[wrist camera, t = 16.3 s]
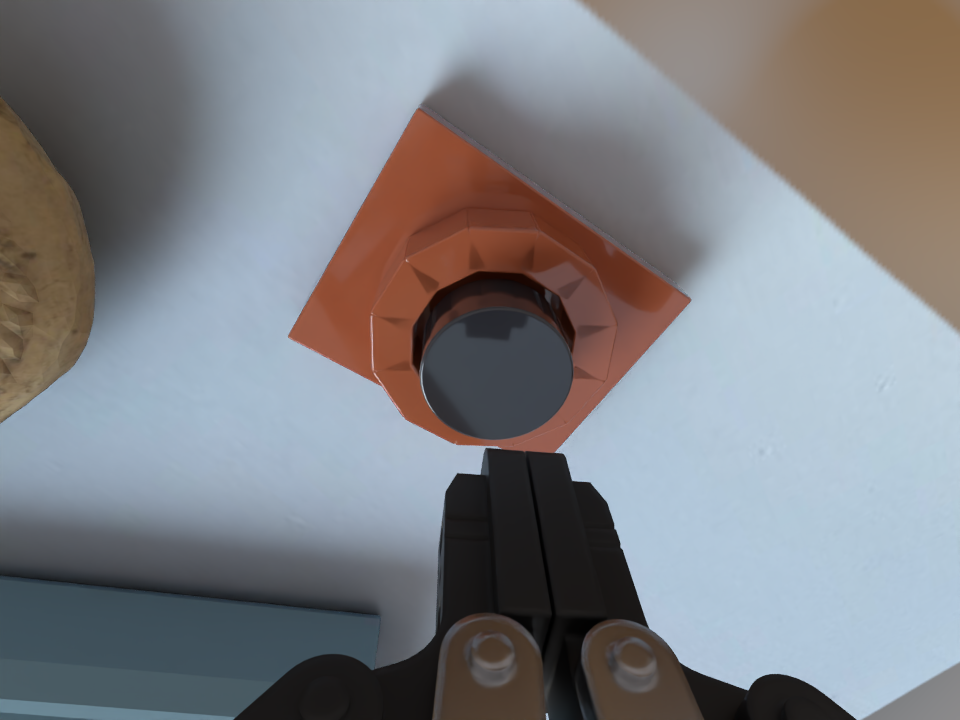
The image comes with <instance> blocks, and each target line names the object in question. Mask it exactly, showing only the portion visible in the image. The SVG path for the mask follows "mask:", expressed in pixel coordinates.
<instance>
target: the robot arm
mask: <svg viewBox="0 0 960 720" xmlns="http://www.w3.org/2000/svg"><path fill="white" fill-rule="evenodd" d="M546 713H548V716H549V720H856V719H855V718H854V717H853V716H851V715H850V714H849V713H847V712H846V711H845V710H844V709H842V708H841V707H840V706H839V705H837V704H836V703H835V702H834V701H832V700H831V699H830V698H828V697H827V696H826V695H825V694H823V693H822V692H820V691H819V690H818V689H816V688H815V687H813V686H811V685H810V684H808V683H806V682H804V681H802V680H799V679H797V678H794V677H791V676H787V675H781V674H769V675H765V676H762V677H760V678H758V679H757V680H756V681H755V682H754V683H753V684H752V685H751V687H750V689H749V691H748V690H745V689H742V688H739V687H736V686H734V685H731V684H728V683H725V682H722V681H720V680H717V679H714V678H711V677H708V676H706V675H703V674H700V673H698V672H696V671H693V670H691V669H690V668H688V667H686V666H684V665H683V664H681V663H680V662H679V661H678V659H677V657H676V655H675V654H674V652H673V651H672V649H671V648H670V647H669V645H668V644H667V643H666V642H665V641H664V640H663V639H662V638H661V637H660V636H658V635H657V634H656V633H655V632H653V631H652V630H650V629H649V627H648V625H647V622H646V620H645V617H644V613H643V610H642V607H641V604H640V601H639V598H638V595H637V592H636V589H635V586H634V583H633V580H632V577H631V574H630V571H629V568H628V565H627V562H626V559H625V556H624V553H623V550H622V549H621V548H620V541H619V538H618V535H617V532H616V530H614V522H613V519H612V516H611V513H610V510H609V507H608V504H607V502H606V501H605V500H604V499H603V497H602V496H601V495H600V494H599V493H598V491H597V490H596V489H595V488H594V487H593V486H592V484H591V483H589V482H575V481H572V479H571V475H570V472H569V468H568V464H567V460H566V457H565V455H564V454H560V453H547V452H534V451H525V453H524V451H518V450H505V449H492V448H486V449H485V452H484V456H483V462H482V469H481V475H474V474H460V473H457V475H456V476H455V478H454V479H453V481H452V483H451V484H450V486H449V487H448V489H447V491H446V493H445V501H444V510H443V518H442V526H441V535H440V543H439V553H438V580H437V608H436V635H435V636H434V637H433V639H432V640H431V642H430V643H429V644H428V645H427V646H426V647H425V648H424V649H423V650H421V651H420V652H419V653H417V654H416V655H414V656H412V657H410V658H409V659H406V660H404V661H401V662H398V663H395V664H391V665H388V666H385V667H381V668H378V669H374V670H371V669H370V668H369V667H368V666H367V665H365V664H364V663H363V662H361V661H360V660H357V659H355V658H353V657H350V656H347V655H343V654H324V655H319V656H315V657H312V658H309V659H307V660H304V661H303V662H301V663H299V664H297V665H296V666H294V667H293V668H292V669H290V670H289V671H288V672H287V673H285V674H284V675H283V676H282V677H281V678H280V679H279V680H277V681H276V682H275V683H274V684H273V685H272V686H271V687H270V688H268V689H267V690H266V691H265V692H264V693H263V694H262V695H260V696H259V697H258V698H257V699H256V700H255V701H254V702H252V703H251V704H250V705H249V706H248V707H247V708H246V709H245V710H243V711H242V712H241V713H240V714H239V715H238V716H237V717H235V718H234V719H233V720H546Z"/></svg>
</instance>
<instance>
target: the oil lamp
mask: <svg viewBox="0 0 960 720" xmlns="http://www.w3.org/2000/svg"><path fill="white" fill-rule="evenodd" d="M94 306H95V272H94V260H93V256H92V253H91V248H90V243H89V239H88V234H87V231H86V227H85V223H84V219H83V215H82V211H81V208H80V205H79V202H78V200H77V198H76V196H75V194H74V192H73V190H72V189H71V187H70V186H69V185H68V183H67V182H66V180H65V179H64V178H63V177H62V176H61V175H60V174H59V173H58V172H57V170H56V169H55V167H54V165H53V164H52V162H51V161H50V159H49V157H48V156H47V154H46V153H45V151H44V150H43V148H42V147H41V146H40V144H39V143H38V141H37V140H36V139H35V137H34V136H33V135H32V133H31V132H30V131H29V129H28V128H27V127H26V125H25V124H24V123H23V122H22V120H21V119H20V118H19V116H18V115H17V114H16V113H15V112H14V111H13V110H12V108H11V107H10V106H9V105H8V104H7V103H6V102H5V101H4V100H3V99H2V98H1V96H0V423H2V422H3V421H4V420H6V419H7V418H8V417H10V416H11V415H12V414H14V413H15V412H16V411H18V410H19V409H21V408H22V407H23V406H25V405H26V404H27V403H29V402H30V401H31V400H32V399H33V398H34V397H36V396H37V395H39V394H40V393H41V392H43V391H44V390H45V389H47V388H48V387H49V386H50V385H51V384H52V383H54V382H55V381H56V380H57V379H58V378H59V377H61V376H62V375H63V374H65V373H66V372H67V371H68V370H70V369H71V368H72V367H73V366H74V364H75V363H76V361H77V360H78V358H79V357H80V355H81V353H82V351H83V350H84V348H85V346H86V344H87V341H88V338H89V335H90V331H91V327H92V324H93V318H94Z"/></svg>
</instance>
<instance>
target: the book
mask: <svg viewBox="0 0 960 720" xmlns="http://www.w3.org/2000/svg"><path fill="white" fill-rule="evenodd" d="M380 621H381V618H380V616H379V615H369V614H360V613H351V612H341V611H332V610H322V609H313V608H303V607H294V606H284V605H275V604H265V603H256V602H246V601H237V600H227V599H218V598H208V597H199V596H189V595H180V594H170V593H161V592H151V591H142V590H132V589H123V588H114V587H104V586H95V585H85V584H76V583H66V582H57V581H47V580H38V579H28V578H19V577H9V576H0V720H233V719H234V718H235V717H237V716H238V715H239V714H240V713H241V712H242V711H243V710H245V709H246V708H247V707H248V706H249V705H250V704H251V703H252V702H254V701H255V700H256V699H257V698H258V697H259V696H260V695H262V694H263V693H264V692H265V691H266V690H267V689H268V688H270V687H271V686H272V685H273V684H274V683H275V682H276V681H277V680H279V679H280V678H281V677H282V676H283V675H284V674H285V673H287V672H288V671H289V670H290V669H292V668H293V667H294V666H296V665H297V664H299V663H301V662H303V661H304V660H307V659H309V658H312V657H315V656H319V655H324V654H343V655H347V656H350V657H353V658H355V659H357V660H360V661H361V662H363V663H364V664H365V665H367V666H368V667H369V668H370V669H371V670H374V668H375V660H376V652H377V645H378V637H379V629H380Z"/></svg>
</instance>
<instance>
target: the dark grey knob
mask: <svg viewBox="0 0 960 720" xmlns="http://www.w3.org/2000/svg"><path fill="white" fill-rule="evenodd" d="M419 376H420V386H421V390H422V393H423V396H424V399H425V401H426V403H427V404H428V406H429V408H430V409H431V410H432V412H433V413H434V414H435V415H436V416H437V417H438V418H439V419H440V420H441V421H442V422H443V423H444V424H445V425H447V426H448V427H450V428H451V429H453V430H455V431H457V432H459V433H461V434H464V435H467V436H470V437H473V438H478V439H485V440H503V439H510V438H515V437H519V436H522V435H525V434H527V433H530V432H532V431H534V430H536V429H538V428H539V427H541V426H542V425H544V424H545V423H546V422H548V421H549V420H550V419H551V418H552V417H553V416H554V415H555V414H556V413H557V412H558V411H559V410H560V408H561V407H562V406H563V404H564V402H565V401H566V399H567V397H568V395H569V392H570V390H571V386H572V382H573V376H574V364H573V358H572V354H571V351H570V348H569V346H568V343H567V341H566V338H565V335H564V333H563V330H562V327H561V325H560V322H559V320H558V317H557V315H556V313H555V311H554V309H553V307H552V306H551V305H550V304H549V302H548V301H547V300H546V299H545V298H544V297H543V296H542V295H541V294H539V293H538V292H537V291H535V290H534V289H532V288H530V287H529V286H527V285H524V284H522V283H519V282H516V281H512V280H508V279H499V278H489V279H481V280H477V281H473V282H469V283H467V284H464V285H462V286H460V287H458V288H456V289H455V290H453V291H451V292H450V293H449V294H447V295H446V296H445V297H444V298H443V299H442V300H441V301H440V302H439V303H438V304H437V305H436V307H435V308H434V309H433V311H432V312H431V314H430V316H429V318H428V320H427V323H426V326H425V330H424V335H423V344H422V354H421V363H420V373H419Z"/></svg>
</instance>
